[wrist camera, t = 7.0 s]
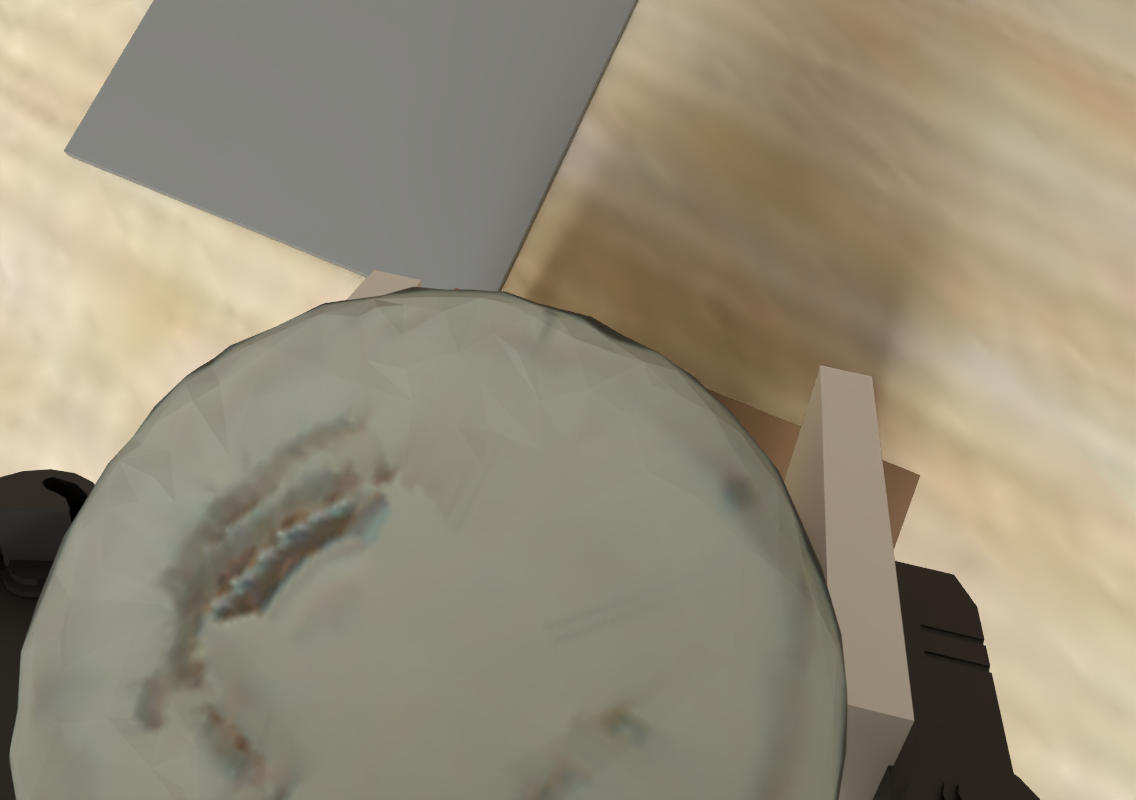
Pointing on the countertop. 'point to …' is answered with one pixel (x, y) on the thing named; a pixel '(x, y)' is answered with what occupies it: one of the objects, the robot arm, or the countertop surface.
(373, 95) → the slate mat
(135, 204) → the countertop surface
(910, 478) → the wooden square frame
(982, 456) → the countertop surface
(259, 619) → the sauce bottle
